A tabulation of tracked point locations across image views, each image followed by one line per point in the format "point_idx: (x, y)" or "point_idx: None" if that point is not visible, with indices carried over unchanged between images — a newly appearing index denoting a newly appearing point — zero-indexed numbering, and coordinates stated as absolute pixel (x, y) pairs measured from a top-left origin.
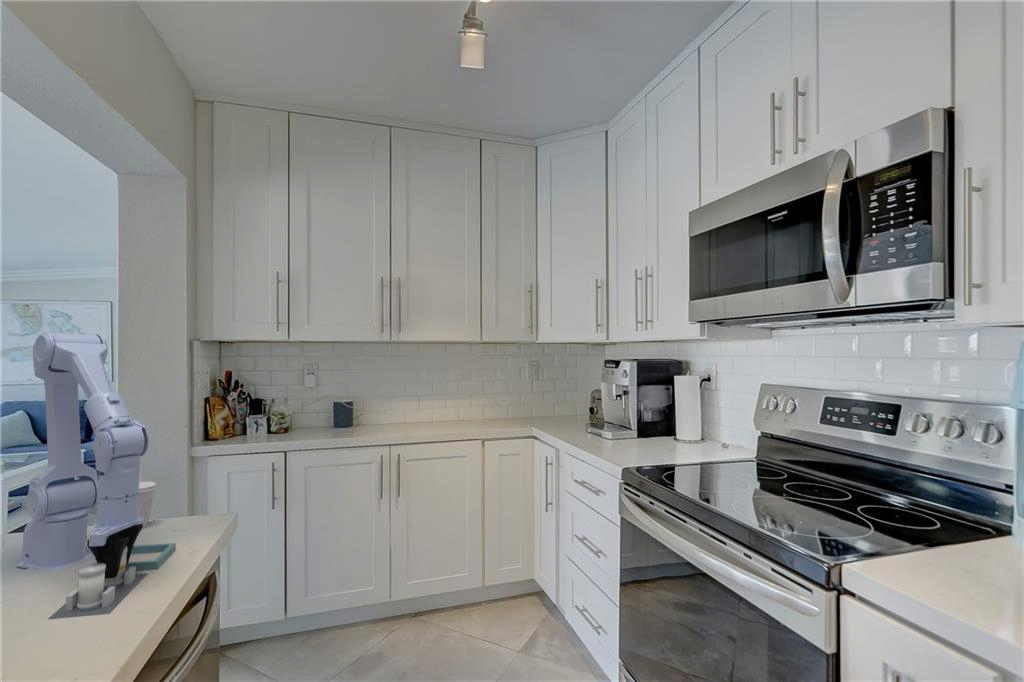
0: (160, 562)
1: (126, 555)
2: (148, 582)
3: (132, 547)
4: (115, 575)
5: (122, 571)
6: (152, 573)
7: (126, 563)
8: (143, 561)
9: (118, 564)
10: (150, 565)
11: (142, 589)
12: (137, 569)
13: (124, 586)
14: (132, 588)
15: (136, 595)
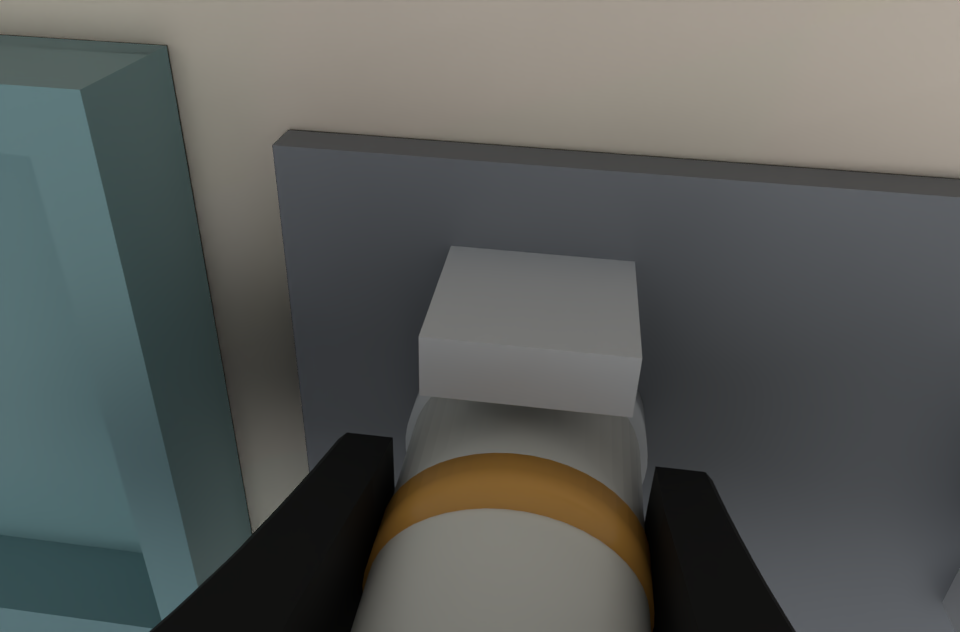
0: (4, 63)
1: (448, 600)
2: (492, 64)
3: (192, 619)
4: (712, 492)
5: (572, 448)
6: (193, 100)
7: (371, 474)
8: (84, 289)
9: (762, 607)
10: (131, 171)
11: (723, 73)
12: (182, 294)
13: (668, 300)
14: (780, 195)
15: (916, 93)
